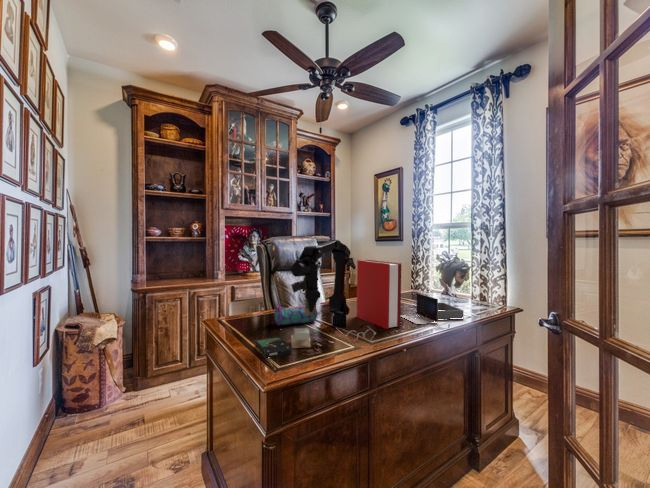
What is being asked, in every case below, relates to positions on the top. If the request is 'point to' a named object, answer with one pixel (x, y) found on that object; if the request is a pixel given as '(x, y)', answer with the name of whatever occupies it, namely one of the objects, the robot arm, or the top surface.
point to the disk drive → (274, 347)
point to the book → (379, 292)
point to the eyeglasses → (358, 333)
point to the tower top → (301, 334)
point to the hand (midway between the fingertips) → (310, 310)
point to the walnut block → (308, 309)
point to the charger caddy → (449, 311)
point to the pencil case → (292, 316)
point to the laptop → (425, 310)
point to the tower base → (300, 343)
